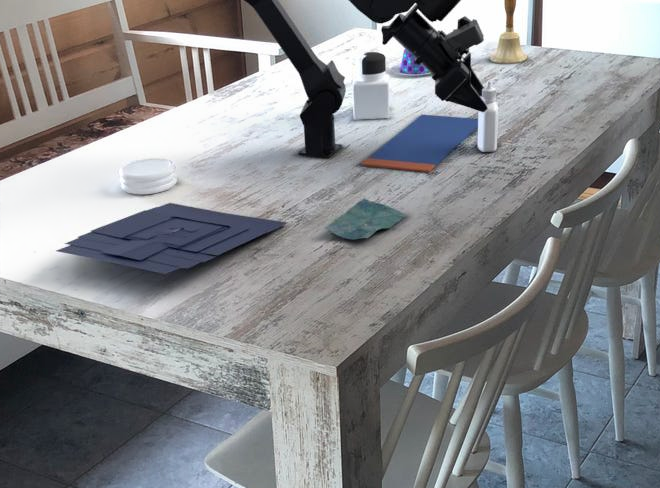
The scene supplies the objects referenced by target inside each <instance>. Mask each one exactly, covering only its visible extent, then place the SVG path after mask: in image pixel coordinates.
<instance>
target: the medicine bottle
mask: <svg viewBox="0 0 660 488" xmlns="http://www.w3.org/2000/svg"><path fill="white" fill-rule="evenodd" d="M386 65H387V64H386V56H385V54H383V53H381V52H377V51H367V52H362V53H359V54H358V55H356V57H355V58H354V69H355V75H353V78H352V109H353V111H352V112H353V120H355V121H357V120H359V121H360V120H379V119H389V118H390V75H389V74H388V73H387V72H386V71H387V69H386V67H387V66H386Z"/></svg>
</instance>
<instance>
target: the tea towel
mask: <svg viewBox="0 0 660 488" xmlns="http://www.w3.org/2000/svg"><path fill="white" fill-rule="evenodd" d="M476 129H478V118H473V117H460V116H459V117H457V116H447V115H433V114H420V116H418V117H416V118H415V119H414V120H412V122H411V123H410V124H408V125H407V126H406V127H405V128H403V129H402V130H401V131H400V132H398V133H397V134H396V135H394V136H393V137H392V138H391V139H389V140H388V141H387V142H386V143H385V144H383V145H382V146H381V147H379V148H378V149H377V150H376V151H375V152H374V153H373V152H372V153H371V155H369V156H368V157H367V158H366V159H364V160H363V161H361V162H360V166H361V167H373V168H381V169H392V170H401V171H402V170H403V171H410V172H411V171H412V172H423V173H430V172H431V171H433V170H434V169H435V168H436V167H437V166H438V165H439V164H440V163H441V162H442V161H443V160H444V159H445V158H447V157H448V156H449V155H450V154H451V153H452V152H453V151H454V150H456V148H457V147H458V146H459V145H460V144H461V143H462V142H464V141H465V140H466V139H467V138H468V137H469V136H471V134H472V133H473V132H475V131H476Z"/></svg>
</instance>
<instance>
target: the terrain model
mask: <svg viewBox="0 0 660 488" xmlns="http://www.w3.org/2000/svg"><path fill="white" fill-rule="evenodd" d="M406 216H407V214H406V213H404V212H401V211H400V210H397V209H395V208H393V207H391V206H389V205H387V204H383V203H378V202H373V201H371V200H368V199H367V198H362V199H360V200H359V201H357V203H356V204H354V205H353V206H351V207H350V208H349V209H347V211H346V212H344V213H343V214H342V215H340V216H339V217H338V218H335V219H333V221H332V222H331V223H330V224H328V225H326V226H325V227H324V229H326V230H327V231H329V232H331V233H332V234H334V235H336V236H338V237H341V238H343V239H347V240H359V239H369V238H370V237H371V236H372V235H374V234H375V233H376V232H377V231H379V230H387V229H391V228H392V227H393V226H394V225H395V224H397V223H398V222H401V221H402V220H403V219H404V218H405V217H406Z"/></svg>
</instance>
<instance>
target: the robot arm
mask: <svg viewBox="0 0 660 488" xmlns="http://www.w3.org/2000/svg"><path fill="white" fill-rule="evenodd" d="M243 2H245V3H246V4H247V5H249V6H250V7H251V8H252V9H253V10H254V11H255V13H256V14H257V16H259V18H260V20H261V21H262V23H263V25H264V26H265V27H266V29H267V30H268V31H269V33H270V34H271V36H272V37H273V38H274V40H275V41H276V43H277V44H278V46H279V47H280V49H281V50H282V51H283V54H284V55H285V56H286V57H287V59H288V60H289V61H290V63H291V65H292V66H293V67H294V69H295V71H297V74H298V75H299V77H300V80H301V83H302V87H303V89H304V92H305V94H306V97H307V100H306V101H305V103H304V105H303V107H302V109H301V111H300V114H299V118H300V119H299V120H300V121H301V123H302V125H303V136H304V138H303V139H304V147H303V148H301V149H300V150H298V151H297V155H299V156H306V157H315V158H327V159H328V158H330V157H332V156H333V155H335V154H336V153H337V152H339V151H340V150H341V149H342V148H343V146H344V145H343V144H341V143H336V130H335V129H336V127H335V125H336V124H335V115H334V114H336V113H338V111H340V109H341V107H342V105H343V102H344V99H345V96H346V92H347V91H346V90H347V89H346V84H345V82H344V81H345V79H346V77H345V76H344V75H343V74H342V73H341V72H339V70H338V68H337V65H336V64H335V62H334V60H332V59H331V60H330V61H329V62H328V63H325V62H323V61H322V60H321V59H320V58H319V57H317V55H316V53H315V52H314V51H313V49H312V48H311V46H310V45H309V43H308V42H307V40H306V39H305V38H304V35H302V33H301V31H300V30H299V28H298V27H297V26H296V24H295V22H294V21H293V20H292V19H291V18H292V17H290V16H289V13H287V11H286V10H285V8H284V7H283V5H282V4H281V2H280V0H243ZM348 2H349V3H351V4H352V5H353V7H355V8H356V10H357V11H359V12H360V13H361V14H362V15H364V16H365V17H366V18H368V19H369V20H370V21H372V22H373V23H376V24H380V25H381V24H382V26H381V28H380V31H381V34H382V35H381V36H382V41H381V43H382V45H383V46H386V45H387V44H388V43H389V42H390V40H391V39H392V38H393V39H394V40H395V41H397V42H398V44H400V45H401V46H402V47H403V48H404V50H405V49H406V50H407V51H408V52H409V53H410V54H411V55H412V56H413V57H414V58H415V62H416V63H417V64H418V65H420V64H422V65H423V66H424V67H425V68H426V69H427V70H428V71H429V72H430V73H431V79H432V80H433V81H434V83H435V84H434V95H435V96H437V98H438V99H439V100H440V101H442V102H444V101H445V102H447V103H453V104H457V105H460V106H463V107H466V108H469V109H472V110H476V111H477V112H478V111H481V112H485V111H486V110H487V108H488V107H487V106H486V104H485V103H484V101H483V100H482V89H484V88H485V87H484V85H483V84H482V82H481V81H480V78H479V77H478V76H477V74H476V72H475V70H474V69H473V68H472V53H471V52H470V48H473V47H474V46H478V45H480V44H482V43H483V42H484V41H485V38H484V36H485V35H484V34H483V31H482V29H481V27H480V25H479V22H478V20H477V19H475V18H473V19H472V20H471V19H470V18H468V17H467V16H466V15H464V16H462V17H461V18H458V19H457V26H456V27H457V28H454V29H453V30H452V31H451V32H449V33H445V32H444V31H443V30H442V29H439V30H438V31H437V29H435V28H434V26H432V25H431V24H430V22H431V23H434V22H436V21H439V22H443V20H444V19H445V18H446V17H447V16H449V14H450V13H451V12H452V11H453V10H454V9H455V8H456V7H457V5H458V4H459V3H460V2H462V0H348ZM418 11H419V12H418ZM404 13H406V14H404ZM420 13H421V14H422V15H423V16H422V15H421V14H420ZM396 15H397V16H396ZM424 17H425V18H424ZM394 18H395V19H394ZM426 19H427V20H428V21H429V22H428V21H427V20H426ZM391 20H393V21H391ZM390 21H391V23H390V24H389V25H383V24H385V23H389V22H390ZM464 55H465V56H464Z"/></svg>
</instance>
